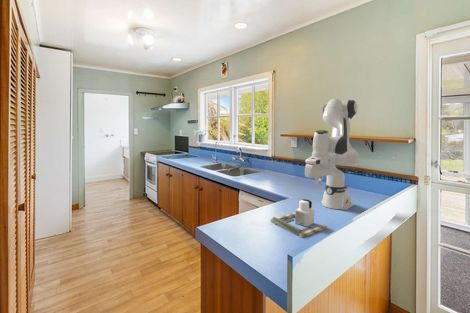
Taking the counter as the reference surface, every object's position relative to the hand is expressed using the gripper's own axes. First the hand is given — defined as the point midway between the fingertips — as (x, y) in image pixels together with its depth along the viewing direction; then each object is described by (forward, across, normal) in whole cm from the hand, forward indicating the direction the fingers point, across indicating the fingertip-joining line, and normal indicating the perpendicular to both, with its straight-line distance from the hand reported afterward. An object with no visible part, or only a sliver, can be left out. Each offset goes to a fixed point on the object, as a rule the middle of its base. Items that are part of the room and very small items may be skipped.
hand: (318, 184), depth 137 cm
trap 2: (+21, +17, +7) cm, 28 cm away
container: (+21, +10, 0) cm, 23 cm away
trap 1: (+21, +17, -7) cm, 28 cm away
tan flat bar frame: (+21, +15, 0) cm, 26 cm away
